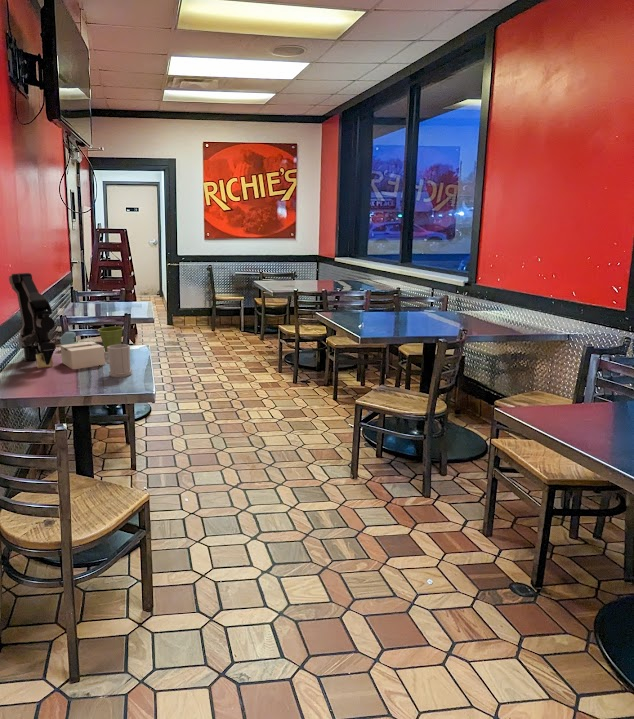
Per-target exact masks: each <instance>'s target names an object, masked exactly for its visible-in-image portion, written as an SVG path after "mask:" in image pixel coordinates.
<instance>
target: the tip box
mask: <svg viewBox="0 0 634 719" xmlns="http://www.w3.org/2000/svg"><path fill="white" fill-rule="evenodd" d="M59 347H60V354H61V355H60V356H61V363H62V365H63V364H64V366H67V367H68V368H70V369H71V370H79V369H85V368H92V367H98V366H99V365H100V366H105V365H106V362H105V358H104V353H105V350H104V346H103V345H101V344H99V343H98V342H97V343H96V342H94V341H85V342H78V343H75V344H67V345H61V344H60V346H59ZM100 366H99V367H100Z"/></svg>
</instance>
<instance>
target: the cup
mask: <svg viewBox="0 0 634 719" xmlns="http://www.w3.org/2000/svg"><path fill="white" fill-rule="evenodd" d="M107 350H108V352H105V351H104V358H105V364H107V365H109V371H108V372H109V376H110V377H111V378H124V377H126V378H127V377H129V376H131V375H132V374H133V372H132V369H131V363H130V362H131V360H130V359H131V358H130V356H131V352H130V350H131V346H130V345H129V344H124V343H123V344H122V343H121V344H118V345H111V346H108V347H107Z"/></svg>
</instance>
